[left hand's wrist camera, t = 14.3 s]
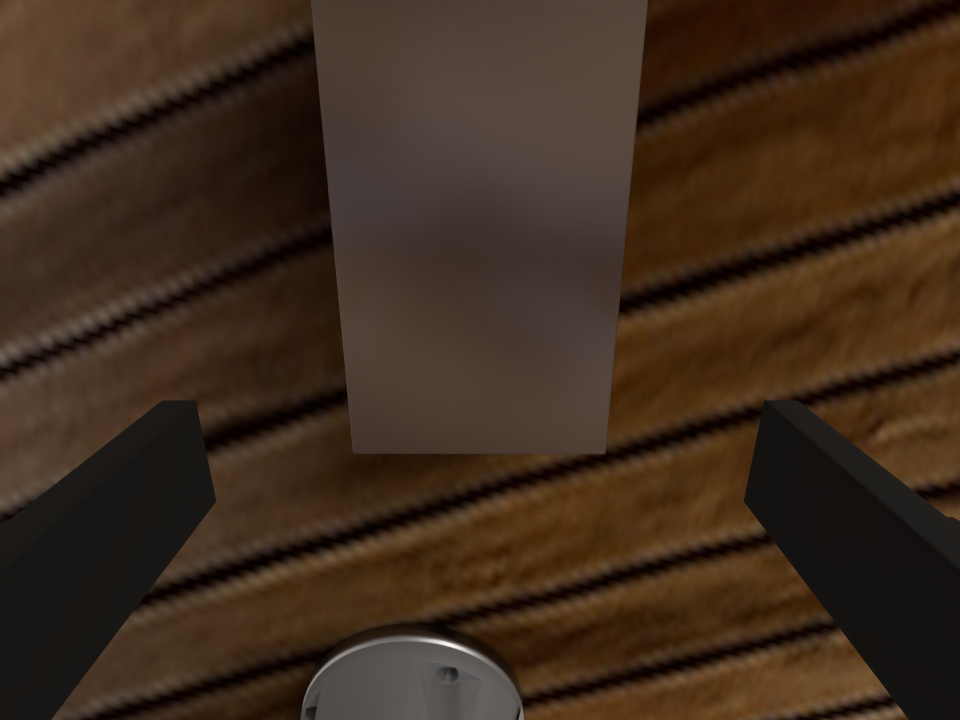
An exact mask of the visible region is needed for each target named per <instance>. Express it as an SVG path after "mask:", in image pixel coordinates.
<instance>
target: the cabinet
mask: <svg viewBox="0 0 960 720" xmlns="http://www.w3.org/2000/svg"><path fill="white" fill-rule="evenodd" d="M310 1H311V12H312V23H313V33H314V44H315V54H316V65H317V76H318V86H319V97H320V108H321V118H322V129H323V139H324V150H325V161H326V171H327V182H328V193H329V203H330V214H331V224H332V235H333V246H334V256H335V267H336V278H337V288H338V299H339V309H340V320H341V331H342V341H343V352H344V363H345V373H346V384H347V394H348V405H349V416H350V426H351V437H352V448H353V454H605V451H606V440H607V430H608V419H609V408H610V398H611V387H612V377H613V366H614V355H615V345H616V334H617V324H618V313H619V302H620V292H621V281H622V271H623V260H624V249H625V239H626V228H627V218H628V207H629V196H630V186H631V175H632V165H633V154H634V143H635V133H636V122H637V112H638V101H639V90H640V80H641V69H642V59H643V48H644V37H645V27H646V16H647V6H648V0H310Z"/></svg>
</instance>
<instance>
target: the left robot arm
mask: <svg viewBox="0 0 960 720" xmlns="http://www.w3.org/2000/svg"><path fill="white" fill-rule="evenodd" d="M215 502H216V498H215V493H214V488H213V483H212V478H211V474H210V469H209V464H208V459H207V454H206V449H205V444H204V439H203V435H202V430H201V425H200V420H199V415H198V410H197V405H196V401H161V402H160V403H159V404H157V405H156V406H155V407H154V408H152V409H151V410H150V411H148V412H147V413H146V414H145V415H143V416H142V417H141V418H139V419H138V420H137V421H136V422H134V423H133V424H132V425H131V426H129V427H128V428H127V429H125V430H124V431H123V432H122V433H120V434H119V435H118V436H116V437H115V438H114V439H113V440H111V441H110V442H109V443H107V444H106V445H105V446H104V447H102V448H101V449H100V450H99V451H97V452H96V453H95V454H93V455H92V456H91V457H90V458H88V459H87V460H86V461H84V462H83V463H82V464H81V465H79V466H78V467H77V468H76V469H74V470H73V471H72V472H70V473H69V474H68V475H67V476H65V477H64V478H63V479H61V480H60V481H59V482H58V483H56V484H55V485H54V486H52V487H51V488H50V489H49V490H47V491H46V492H45V493H44V494H42V495H41V496H40V497H38V498H37V499H36V500H35V501H33V502H32V503H31V504H29V505H28V506H27V507H26V508H24V509H23V510H22V511H20V512H19V513H18V514H17V515H15V516H14V517H13V518H12V519H8V520H6V521H4V522H2V523H0V720H51V719H52V718H53V716H54V715H55V714H56V712H57V711H58V710H59V708H60V707H61V706H62V704H63V703H64V702H65V701H66V699H67V698H68V697H69V695H70V694H71V693H72V691H73V690H74V689H75V687H76V686H77V685H78V683H79V682H80V681H81V679H82V678H83V677H84V675H85V674H86V673H87V671H88V670H89V669H90V667H91V666H92V665H93V663H94V662H95V661H96V660H97V658H98V657H99V656H100V654H101V653H102V652H103V650H104V649H105V648H106V646H107V645H108V644H109V642H110V641H111V640H112V638H113V637H114V636H115V634H116V633H117V632H118V630H119V629H120V628H121V626H122V625H123V624H124V622H125V621H126V620H127V619H128V617H129V616H130V615H131V613H132V612H133V611H134V609H135V608H136V607H137V605H138V604H139V603H140V601H141V600H142V599H143V597H144V596H145V595H146V593H147V592H148V591H149V589H150V588H151V587H152V585H153V584H154V583H155V581H156V580H157V579H158V578H159V576H160V575H161V574H162V572H163V571H164V570H165V568H166V567H167V566H168V564H169V563H170V562H171V560H172V559H173V558H174V556H175V555H176V554H177V552H178V551H179V550H180V548H181V547H182V546H183V544H184V543H185V542H186V541H187V539H188V538H189V537H190V535H191V534H192V533H193V531H194V530H195V529H196V527H197V526H198V525H199V523H200V522H201V521H202V519H203V518H204V517H205V515H206V514H207V513H208V511H209V510H210V509H211V507H212V506H213V505H214V503H215ZM744 502H745V503H746V505H747V506H748V507H749V509H750V510H751V511H752V513H753V514H754V515H755V517H756V518H757V519H758V521H759V522H760V523H761V525H762V526H763V527H764V529H765V530H766V531H767V533H768V534H769V535H770V537H771V538H772V539H773V541H774V542H775V543H776V544H777V546H778V547H779V548H780V550H781V551H782V552H783V554H784V555H785V556H786V558H787V559H788V560H789V562H790V563H791V564H792V566H793V567H794V568H795V570H796V571H797V572H798V574H799V575H800V576H801V578H802V579H803V580H804V581H805V583H806V584H807V585H808V587H809V588H810V589H811V591H812V592H813V593H814V595H815V596H816V597H817V599H818V600H819V601H820V603H821V604H822V605H823V607H824V608H825V609H826V611H827V612H828V613H829V615H830V616H831V617H832V619H833V620H834V621H835V622H836V624H837V625H838V626H839V628H840V629H841V630H842V632H843V633H844V634H845V636H846V637H847V638H848V640H849V641H850V642H851V644H852V645H853V646H854V648H855V649H856V650H857V652H858V653H859V654H860V656H861V657H862V658H863V660H864V661H865V662H866V663H867V665H868V666H869V667H870V669H871V670H872V671H873V673H874V674H875V675H876V677H877V678H878V679H879V681H880V682H881V683H882V685H883V686H884V687H885V689H886V690H887V691H888V693H889V694H890V695H891V697H892V698H893V699H894V701H895V702H896V703H897V704H898V706H899V707H900V708H901V710H902V711H903V712H904V714H905V715H906V716H907V718H908V719H909V720H960V521H958V520H957V519H955V518H953V517H946V516H945V515H943V514H942V513H941V512H940V511H938V510H937V509H936V508H934V507H933V506H932V505H931V504H929V503H928V502H927V501H925V500H924V499H923V498H922V497H920V496H919V495H918V494H916V493H915V492H914V491H913V490H911V489H910V488H909V487H908V486H906V485H905V484H904V483H902V482H901V481H900V480H899V479H897V478H896V477H895V476H893V475H892V474H891V473H890V472H888V471H887V470H886V469H884V468H883V467H882V466H881V465H879V464H878V463H877V462H876V461H874V460H873V459H872V458H870V457H869V456H868V455H867V454H865V453H864V452H863V451H861V450H860V449H859V448H858V447H856V446H855V445H854V444H853V443H851V442H850V441H849V440H847V439H846V438H845V437H844V436H842V435H841V434H840V433H838V432H837V431H836V430H835V429H833V428H832V427H831V426H829V425H828V424H827V423H826V422H824V421H823V420H822V419H821V418H819V417H818V416H817V415H815V414H814V413H813V412H812V411H810V410H809V409H808V408H806V407H805V406H804V405H803V404H801V403H800V402H799V401H764V405H763V410H762V415H761V420H760V425H759V430H758V435H757V439H756V444H755V449H754V454H753V459H752V464H751V469H750V474H749V478H748V483H747V488H746V493H745V498H744ZM300 720H524V713H523V700H522V693H521V689H520V686H519V683H518V681H517V678H516V676H515V675H514V673H513V671H512V670H511V668H510V667H509V666H508V664H507V663H506V662H505V661H504V660H503V659H502V658H501V657H500V656H499V655H498V654H497V653H496V652H494V651H493V650H492V649H490V648H489V647H488V646H486V645H485V644H483V643H481V642H479V641H478V640H476V639H474V638H472V637H469V636H467V635H465V634H462V633H459V632H457V631H453V630H450V629H446V628H441V627H436V626H429V625H418V624H402V625H391V626H385V627H380V628H375V629H372V630H368V631H365V632H362V633H360V634H357V635H355V636H353V637H351V638H349V639H347V640H345V641H343V642H342V643H340V644H339V645H337V646H336V647H335V648H333V649H332V650H331V651H330V652H329V653H328V654H326V655H325V657H324V658H323V659H322V660H321V661H320V663H319V664H318V665H317V667H316V668H315V670H314V672H313V674H312V677H311V679H310V682H309V685H308V688H307V691H306V695H305V698H304V701H303V706H302V713H301V719H300Z"/></svg>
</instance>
